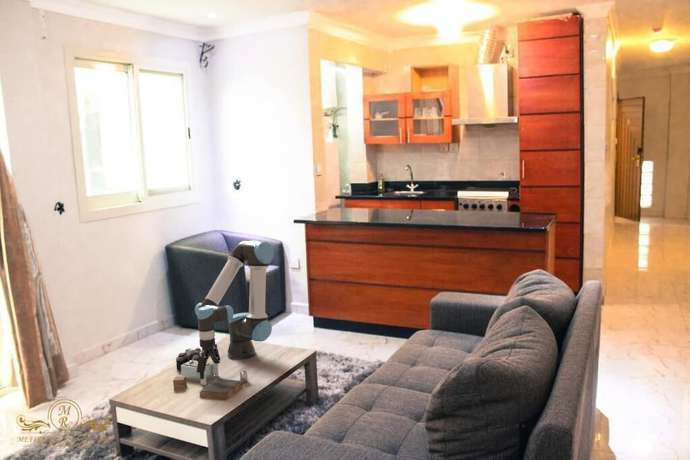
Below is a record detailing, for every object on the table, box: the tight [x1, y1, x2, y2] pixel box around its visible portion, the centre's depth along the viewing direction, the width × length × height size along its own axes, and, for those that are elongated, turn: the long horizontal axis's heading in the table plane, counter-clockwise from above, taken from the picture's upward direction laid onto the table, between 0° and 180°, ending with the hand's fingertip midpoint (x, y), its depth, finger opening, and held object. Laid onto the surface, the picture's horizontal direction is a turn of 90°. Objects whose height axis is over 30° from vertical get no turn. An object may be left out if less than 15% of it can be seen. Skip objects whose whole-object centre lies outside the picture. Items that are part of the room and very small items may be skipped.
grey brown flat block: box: [199, 378, 244, 401], centre depth 273 cm, size 16×14×3 cm
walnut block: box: [172, 375, 187, 391], centre depth 280 cm, size 5×5×5 cm
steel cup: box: [239, 370, 249, 384], centre depth 284 cm, size 4×4×5 cm
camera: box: [175, 347, 202, 372], centre depth 306 cm, size 16×10×10 cm, turn 144°
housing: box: [180, 360, 215, 383], centre depth 293 cm, size 8×14×8 cm, turn 63°
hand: (210, 380), depth 288 cm, fingers open, 11 cm apart
